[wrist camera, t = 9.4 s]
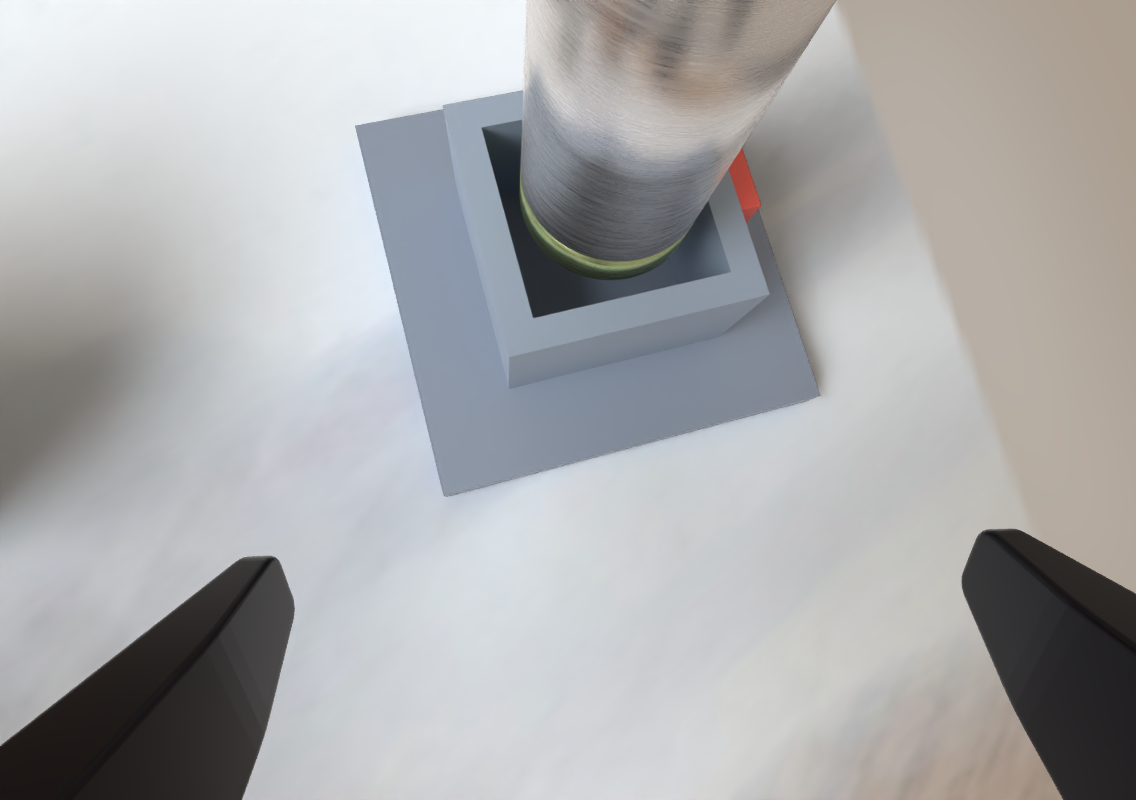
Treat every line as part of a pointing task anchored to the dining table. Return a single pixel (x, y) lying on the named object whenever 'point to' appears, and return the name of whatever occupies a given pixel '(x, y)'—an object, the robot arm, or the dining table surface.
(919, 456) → the dining table surface
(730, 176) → the jack base
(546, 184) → the cylinder
